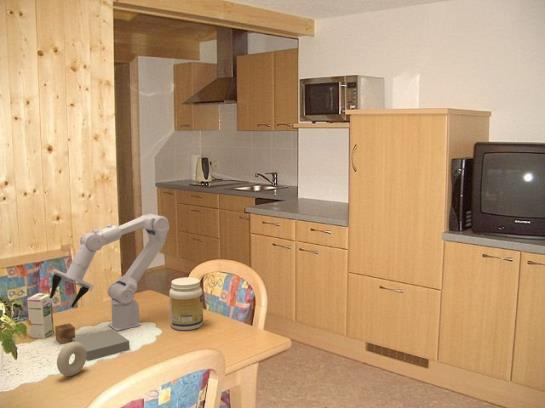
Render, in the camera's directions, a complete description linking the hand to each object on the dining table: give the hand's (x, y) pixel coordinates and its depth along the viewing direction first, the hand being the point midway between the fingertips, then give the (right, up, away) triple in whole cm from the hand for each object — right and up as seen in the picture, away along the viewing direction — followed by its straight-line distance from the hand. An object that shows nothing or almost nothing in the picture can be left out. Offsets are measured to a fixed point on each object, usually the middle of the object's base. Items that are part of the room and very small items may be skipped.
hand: (61, 302), depth 188 cm
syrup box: (-9, -13, +7) cm, 17 cm away
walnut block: (+1, -14, +2) cm, 14 cm away
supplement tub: (+40, -12, +17) cm, 45 cm away
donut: (+13, -17, -24) cm, 32 cm away
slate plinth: (+15, -14, -4) cm, 21 cm away
